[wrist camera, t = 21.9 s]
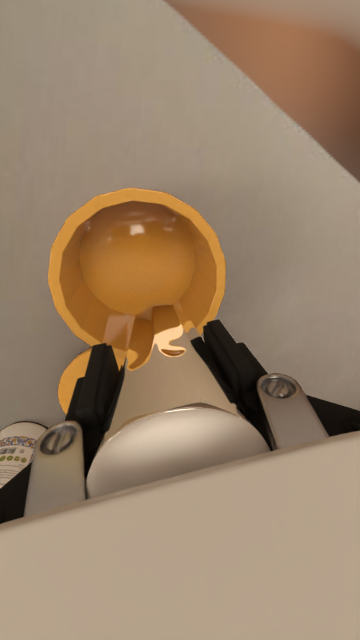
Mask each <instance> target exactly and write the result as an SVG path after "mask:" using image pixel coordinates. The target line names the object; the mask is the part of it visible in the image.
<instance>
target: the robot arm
mask: <svg viewBox="0 0 360 640" xmlns="http://www.w3.org/2000/svg"><path fill="white" fill-rule="evenodd" d="M203 333H204V342H205V345H206V347H207V348H208V350H209V352H210V353H211V355H212V357H213V359H214V360H215V362H216V364H217V366H218V367H219V369H220V371H221V372H222V374H223V376H224V377H225V379H226V380H227V382H228V384H229V385H230V387H231V388H232V390H233V391H234V393H235V394H236V396H237V398H238V399H239V401H240V402H241V404H242V405H243V407H244V408H245V410H246V412H247V413H248V415H249V416H250V418H251V419H252V421H253V422H254V424H255V425H256V427H257V429H258V430H259V432H260V433H261V435H262V437H263V438H264V440H265V441H266V443H267V445H268V447H269V449H270V452H266V453H262V454H259V455H255V456H251V457H247V458H243V459H239V460H235V461H231V462H227V463H223V464H220V465H216V466H212V467H208V468H204V469H200V470H197V471H193V472H189V473H185V474H181V475H177V476H174V477H170V478H166V479H162V480H158V481H155V482H151V483H147V484H143V485H139V486H136V487H132V488H128V489H124V490H121V491H117V492H113V493H109V494H106V495H102V496H98V497H94V498H91V499H88V498H87V492H86V480H87V476H88V473H89V470H90V467H91V463H92V460H93V456H94V453H95V450H96V447H97V443H98V440H99V437H100V433H101V430H102V427H103V424H104V420H105V417H106V414H107V410H108V407H109V404H110V401H111V398H112V395H113V392H114V390H115V387H116V383H117V379H118V375H119V368H118V365H117V361H116V358H115V355H114V352H113V348H112V346H111V345H108V346H107V344H106V343H102V344H97V345H93V346H92V350H91V353H90V357H89V361H88V365H87V369H86V372H85V376H84V377H80V378H78V379H77V381H76V384H75V388H74V391H73V395H72V398H71V401H70V405H69V408H68V411H67V415H66V418H65V421H64V422H60V423H58V424H55V425H53V426H52V427H50V428H49V429H47V430H46V431H45V432H44V433H43V434H42V435H41V436H40V437H39V439H38V440H37V442H36V445H35V448H34V453H33V460H32V462H31V463H30V464H28V465H27V466H26V467H25V468H24V469H23V470H21V471H20V472H19V473H18V474H17V475H15V476H14V477H13V478H12V479H11V480H10V481H8V482H7V483H6V484H5V485H4V486H2V487H1V488H0V640H360V411H358V410H355V409H352V408H348V407H345V406H341V405H338V404H335V403H331V402H328V401H325V400H321V399H318V398H315V397H311V396H308V395H305V393H304V392H303V390H302V388H301V386H300V385H299V384H298V382H297V381H296V380H294V379H293V378H291V377H289V376H287V375H284V374H279V373H272V374H267V372H266V371H265V370H264V368H263V367H262V366H261V365H260V363H259V362H258V361H257V359H256V358H255V357H254V356H253V354H252V353H251V352H250V351H249V349H248V348H247V347H246V345H245V344H244V343H242V342H241V343H237V344H236V342H235V341H234V339H233V338H232V337H231V335H230V334H229V333H228V331H227V330H226V328H225V327H224V326H223V324H222V323H221V322H220V320H214V321H209V322H207V325H204V326H203Z"/></svg>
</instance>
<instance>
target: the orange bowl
mask: <svg viewBox="0 0 360 640" xmlns="http://www.w3.org/2000/svg"><path fill="white" fill-rule="evenodd" d="M225 278H226V261H225V258H224V255H223V252H222V249H221V246H220V244H219V241H218V238H217V235H216V233H215V232H214V231H213V230H212V228H211V227H210V226H209V225H208V223H207V222H206V221H205V220H204V218H203V217H202V216H201V215H200V214H199V212H198V211H197V210H195V208H193V207H191V206H189V205H188V204H186V203H184V202H182V201H180V200H179V199H177V198H175V197H173V196H172V195H170V194H168V193H166V192H160V191H153V190H146V189H139V188H126V189H122V190H118V191H114V192H110V193H106V194H102V195H98V196H96V197H94V198H93V199H91V200H90V201H89V202H87V203H86V204H85V205H84V206H82V207H81V208H80V209H78V210H77V211H76V212H74V213H73V214H72V215H70V216H69V217H68V218H67V220H66V221H65V223H64V225H63V227H62V229H61V230H60V232H59V234H58V236H57V238H56V239H55V241H54V243H53V245H52V246H51V253H50V263H49V272H48V283H49V287H50V290H51V294H52V297H53V301H54V304H55V308H56V310H57V311H58V313H59V314H60V316H61V317H62V318H63V320H64V321H65V322H66V324H67V325H68V326H69V328H70V329H71V330H72V332H73V333H74V334H75V335H76V336H77V337H79V338H80V339H82V340H83V341H85V342H86V343H87V344H89V345H90V346H93V345H97V344H102V343H106V344H107V346H108V345H111V346H112V348H113V352H114V355H115V356H116V357H119V358H123V355H124V351H125V347H126V343H127V339H128V335H129V332H130V329H131V326H132V324H133V321H134V318H135V315H136V314H138V313H139V312H141V311H142V310H144V309H146V308H147V307H149V306H150V305H152V304H173V305H174V306H176V307H177V308H178V309H180V310H181V311H182V312H184V313H185V314H187V315H188V316H189V318H190V319H191V321H192V323H193V325H194V326H195V328H196V330H197V331H198V333H199V335H201V334H202V333H203V326H204V325H207V322H209V321H213V319H214V318H215V317H216V315H217V312H218V309H219V307H220V304H221V301H222V299H223V296H224V293H225Z"/></svg>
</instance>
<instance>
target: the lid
mask: <svg viewBox="0 0 360 640" xmlns="http://www.w3.org/2000/svg"><path fill="white" fill-rule="evenodd" d="M91 350H92V348H91V349H88V350H86V351H85V352H83V353H81V354H80V355H78V356H77V357H75V358H74V359H73V360H72V361H71V362H70V363H69V365H68V366H67V367H66V369H65V370H64V372H63V374H62V376H61V379H60V382H59V387H58V396H59V401H60V404H61V407H62V409H63V410H64V412H65V413H66V415H67V411H68V408H69V405H70V401H71V398H72V395H73V391H74V388H75V384H76V381H77V379H78V378H80V377H84V376H85V372H86V369H87V365H88V361H89V357H90V353H91ZM115 358H116V361H117V365H118V368H119V371H120V367H121V363H122V359H123V358H119V357H116V356H115Z"/></svg>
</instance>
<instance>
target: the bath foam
mask: <svg viewBox="0 0 360 640" xmlns="http://www.w3.org/2000/svg"><path fill="white" fill-rule="evenodd" d="M46 430H47V429H46V428H44V427H43V426H41V425H38V424H35V423H29V422H22V423H16V424H12V425H10V426H8V427H6V428H5V429H3V430H2V431H1V432H0V488H1V487H2V486H4V485H5V484H6V483H7V482H8V481H10V480H11V479H12V478H13V477H14V476H15V475H17V474H18V473H19V472H20V471H21V470H23V469H24V468H25V467H26V466H27V465H28V464H30V463H31V462H32V460H33V453H34V448H35V445H36V442H37V440H38V439H39V437H40V436H41V435H42V434H43V433H44V432H45V431H46Z"/></svg>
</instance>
